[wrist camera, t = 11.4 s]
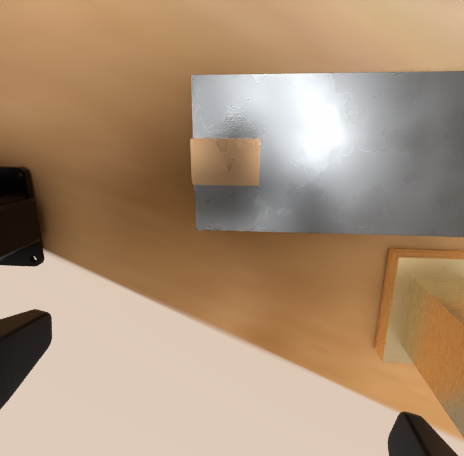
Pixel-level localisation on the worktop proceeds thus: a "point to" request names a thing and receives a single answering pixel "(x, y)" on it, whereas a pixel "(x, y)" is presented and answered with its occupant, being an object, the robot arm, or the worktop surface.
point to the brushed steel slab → (329, 153)
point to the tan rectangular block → (426, 321)
